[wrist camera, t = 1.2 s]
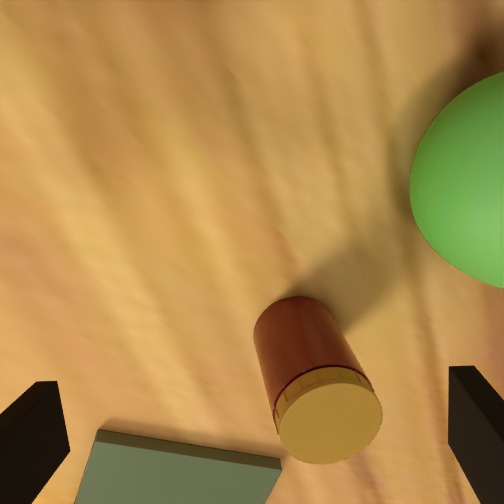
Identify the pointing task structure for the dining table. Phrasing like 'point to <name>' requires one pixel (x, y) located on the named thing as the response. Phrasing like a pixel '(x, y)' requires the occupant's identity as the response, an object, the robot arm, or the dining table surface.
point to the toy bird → (464, 182)
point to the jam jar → (299, 344)
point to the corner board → (172, 473)
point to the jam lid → (327, 415)
